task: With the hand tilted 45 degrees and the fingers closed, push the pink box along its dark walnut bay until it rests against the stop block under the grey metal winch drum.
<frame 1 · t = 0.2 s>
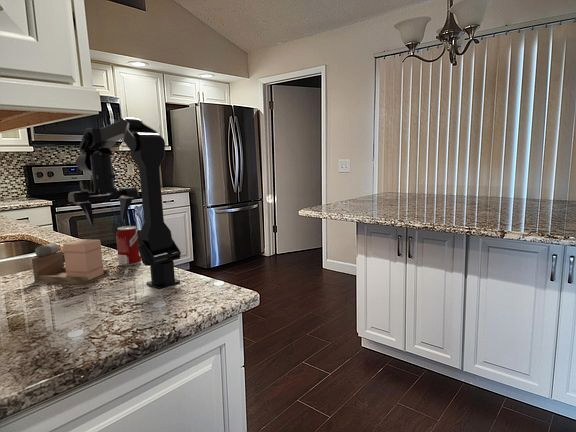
hand: (107, 222, 115), 14 cm above the counter, tool pointing down, fingers open, 9 cm apart
soda can: (130, 264, 121), on the counter
bay: (72, 278, 108), on the counter
pink box: (83, 259, 106), point 6 cm above the counter, slide at 0.0 cm
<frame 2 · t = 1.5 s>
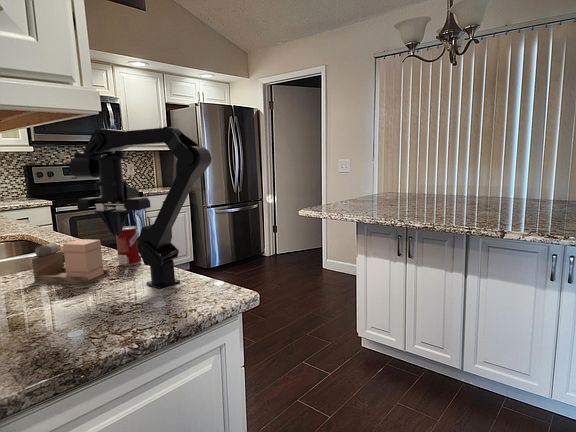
hand: (116, 235, 102), 13 cm above the counter, tool pointing down, fingers closed
nothing on the counter moved.
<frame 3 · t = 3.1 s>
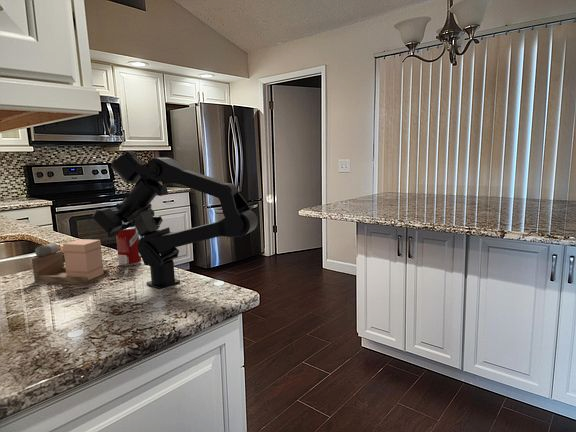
hand: (109, 236, 103), 12 cm above the counter, tool tilted 45°, fingers closed
nothing on the counter moved.
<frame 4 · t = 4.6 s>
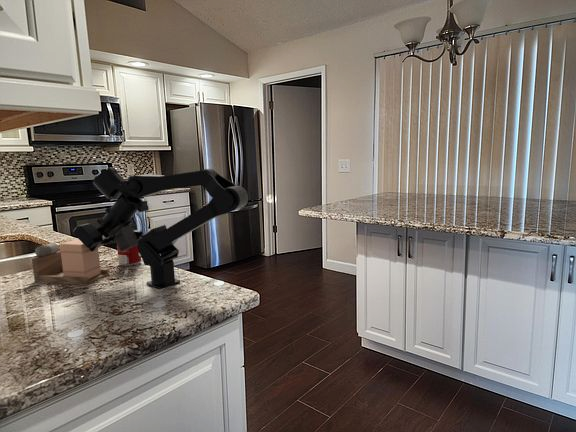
hand: (91, 250, 105), 8 cm above the counter, tool tilted 45°, fingers closed
pink box: (80, 259, 106), point 6 cm above the counter, slide at 1.0 cm
everything else where it was.
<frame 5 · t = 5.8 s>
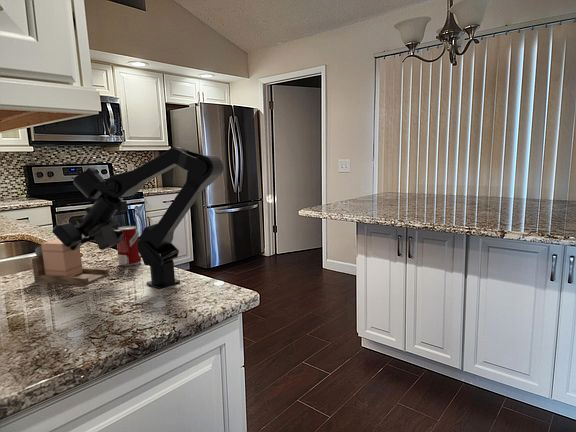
hand: (72, 249, 106), 9 cm above the counter, tool tilted 45°, fingers closed, pressing on pink box
pink box: (62, 258, 108), point 6 cm above the counter, slide at 7.2 cm, touching bay, gripper
everything else where it was.
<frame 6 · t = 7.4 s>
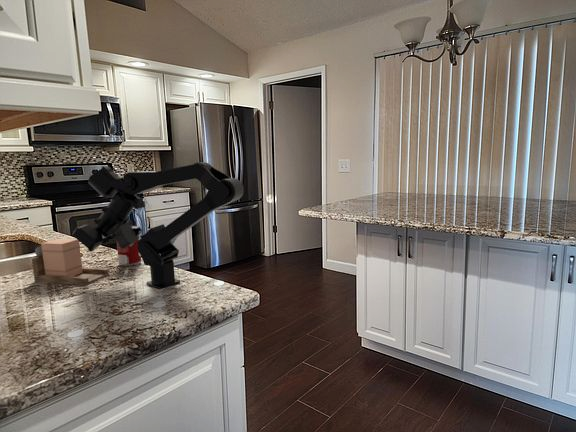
hand: (90, 250, 105), 8 cm above the counter, tool tilted 40°, fingers closed
pink box: (62, 258, 108), point 6 cm above the counter, slide at 7.2 cm, touching bay
everything else where it was.
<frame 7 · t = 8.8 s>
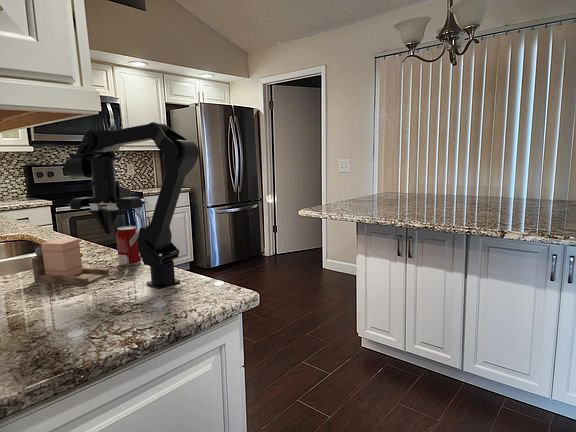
hand: (109, 234, 104), 13 cm above the counter, tool pointing down, fingers closed
nothing on the counter moved.
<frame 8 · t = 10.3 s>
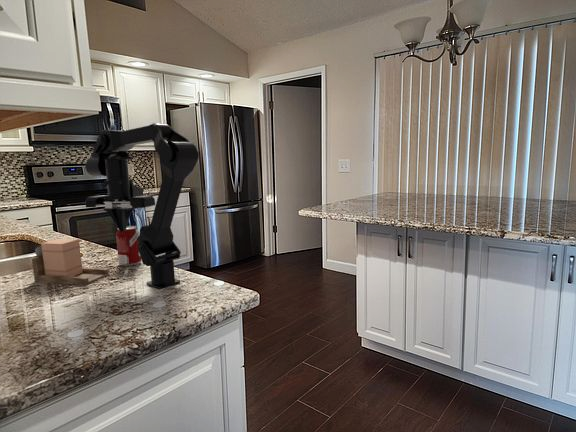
hand: (123, 231, 107), 13 cm above the counter, tool pointing down, fingers closed
nothing on the counter moved.
at the end: pink box slide at 7.2 cm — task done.
